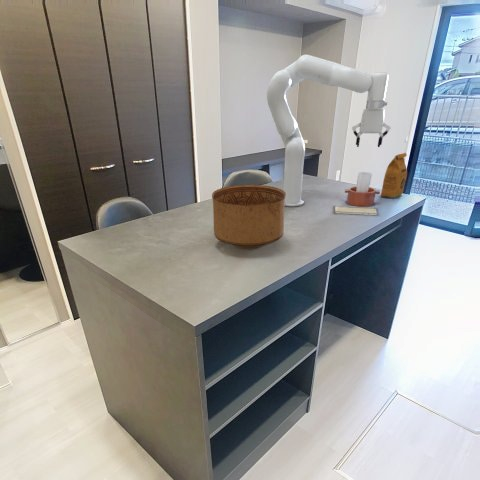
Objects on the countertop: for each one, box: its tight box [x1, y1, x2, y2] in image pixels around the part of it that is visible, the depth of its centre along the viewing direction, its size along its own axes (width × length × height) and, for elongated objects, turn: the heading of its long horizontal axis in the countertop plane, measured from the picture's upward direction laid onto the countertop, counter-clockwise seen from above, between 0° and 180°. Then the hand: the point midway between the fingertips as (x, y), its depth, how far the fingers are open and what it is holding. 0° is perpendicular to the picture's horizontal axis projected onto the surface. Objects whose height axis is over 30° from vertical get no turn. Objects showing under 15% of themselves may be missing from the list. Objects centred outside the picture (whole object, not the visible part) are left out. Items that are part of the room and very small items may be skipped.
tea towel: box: [334, 205, 378, 216], centre depth 178 cm, size 20×12×1 cm, turn 77°
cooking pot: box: [344, 186, 381, 207], centre depth 187 cm, size 18×14×7 cm
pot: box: [211, 184, 286, 250], centre depth 138 cm, size 28×28×20 cm
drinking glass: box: [355, 171, 373, 193], centre depth 185 cm, size 7×7×15 cm
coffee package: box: [380, 152, 408, 199], centre depth 193 cm, size 10×12×22 cm
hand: (368, 146), depth 171 cm, fingers open, 9 cm apart
